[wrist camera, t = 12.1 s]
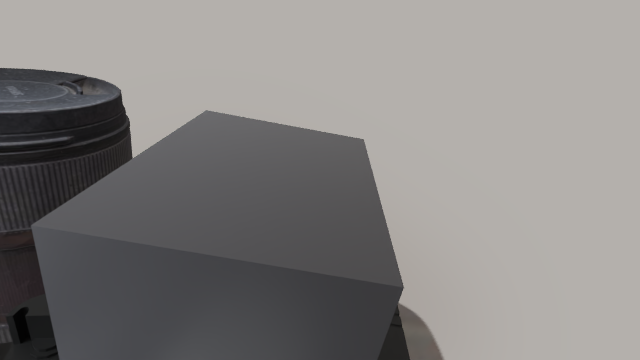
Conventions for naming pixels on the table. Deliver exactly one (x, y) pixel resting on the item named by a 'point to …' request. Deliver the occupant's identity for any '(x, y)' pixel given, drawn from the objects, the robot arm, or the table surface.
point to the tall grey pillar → (224, 250)
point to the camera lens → (49, 162)
